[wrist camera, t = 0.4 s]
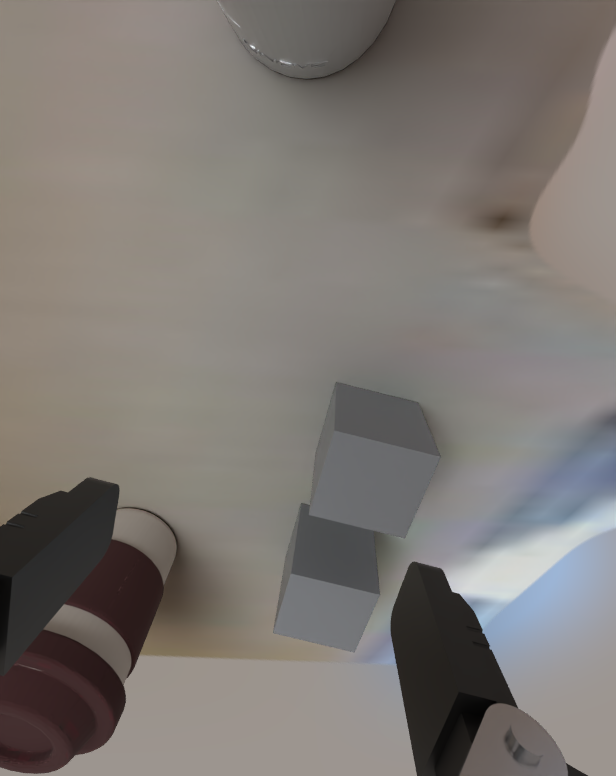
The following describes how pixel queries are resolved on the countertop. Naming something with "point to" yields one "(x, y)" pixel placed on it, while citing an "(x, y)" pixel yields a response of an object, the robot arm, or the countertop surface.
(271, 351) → the countertop surface
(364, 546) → the plain grey cube
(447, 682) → the robot arm
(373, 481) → the matte grey cube
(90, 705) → the coffee cup
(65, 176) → the countertop surface
